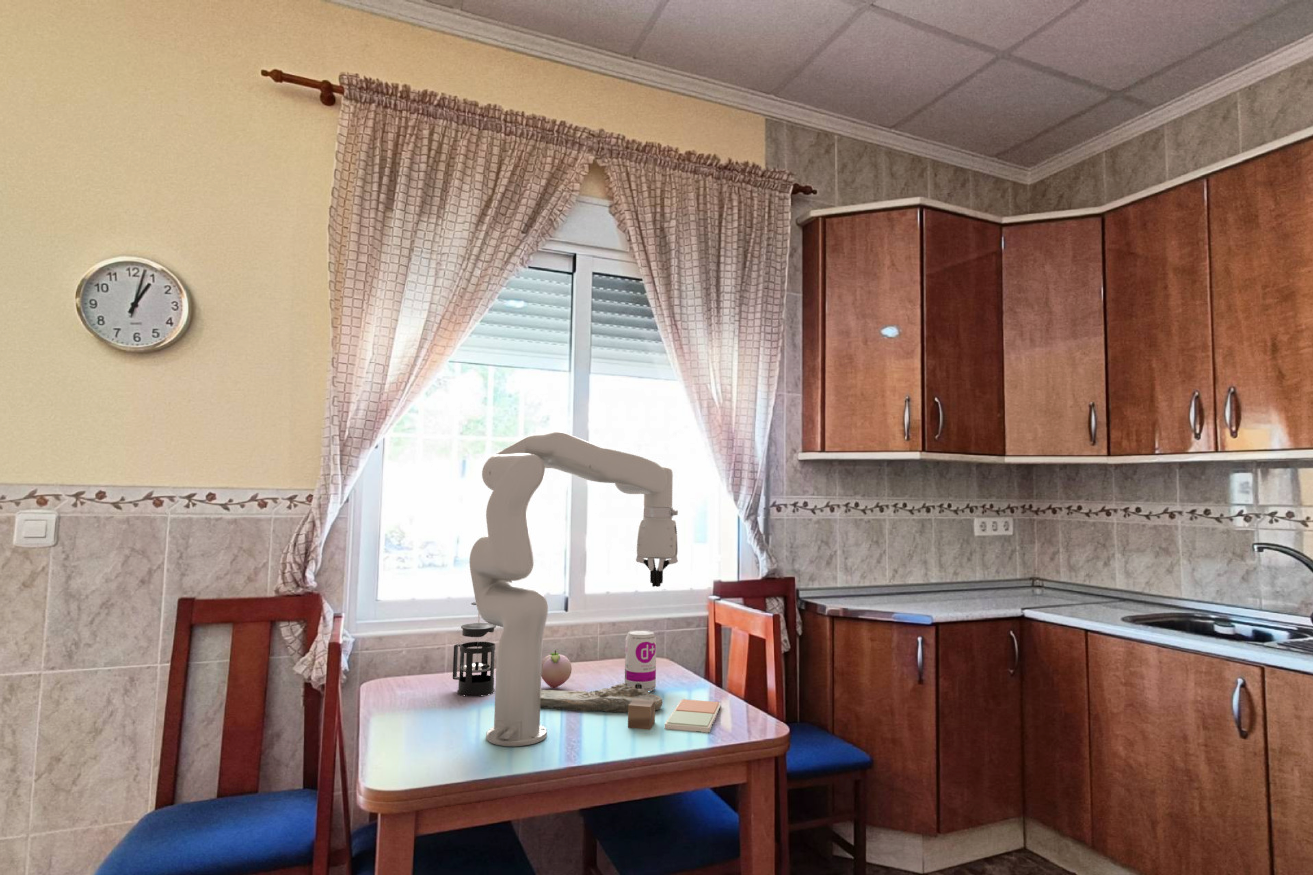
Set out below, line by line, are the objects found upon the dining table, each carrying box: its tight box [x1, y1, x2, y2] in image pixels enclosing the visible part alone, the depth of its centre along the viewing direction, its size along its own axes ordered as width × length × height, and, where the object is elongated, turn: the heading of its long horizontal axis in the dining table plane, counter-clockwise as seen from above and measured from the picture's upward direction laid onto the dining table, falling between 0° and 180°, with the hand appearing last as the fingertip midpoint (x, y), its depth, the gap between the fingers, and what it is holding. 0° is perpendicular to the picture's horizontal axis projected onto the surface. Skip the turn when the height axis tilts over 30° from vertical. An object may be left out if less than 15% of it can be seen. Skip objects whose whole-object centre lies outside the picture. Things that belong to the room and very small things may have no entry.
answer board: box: [664, 698, 722, 733], centre depth 166 cm, size 20×10×1 cm, turn 167°
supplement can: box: [624, 629, 657, 692], centre depth 190 cm, size 8×8×15 cm
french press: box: [452, 601, 497, 697], centre depth 186 cm, size 12×9×23 cm
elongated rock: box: [540, 682, 663, 713], centre depth 174 cm, size 35×5×10 cm
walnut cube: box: [627, 699, 656, 731], centre depth 160 cm, size 5×5×5 cm
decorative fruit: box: [541, 650, 573, 690], centre depth 190 cm, size 9×8×10 cm
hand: (656, 585), depth 182 cm, fingers closed
